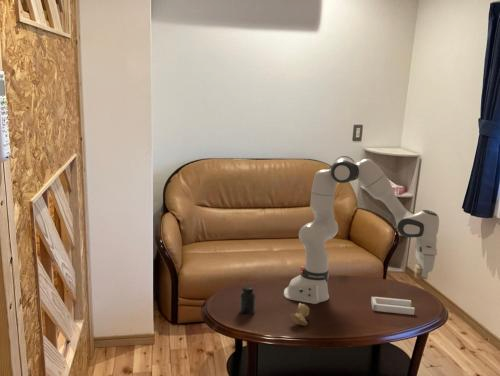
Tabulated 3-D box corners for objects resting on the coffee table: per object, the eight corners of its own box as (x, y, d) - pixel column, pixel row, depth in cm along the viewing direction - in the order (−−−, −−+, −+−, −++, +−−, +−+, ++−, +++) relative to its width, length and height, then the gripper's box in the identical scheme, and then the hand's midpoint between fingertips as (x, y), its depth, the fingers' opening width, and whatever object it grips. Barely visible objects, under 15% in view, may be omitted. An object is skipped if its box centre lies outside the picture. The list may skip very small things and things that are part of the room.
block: (415, 278, 212) (417, 268, 211) (413, 274, 217) (415, 264, 216) (427, 279, 211) (428, 269, 210) (424, 275, 216) (426, 265, 215)
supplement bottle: (247, 307, 214) (248, 283, 212) (257, 312, 209) (258, 287, 207) (236, 311, 209) (237, 286, 207) (246, 316, 204) (247, 291, 202)
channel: (373, 310, 216) (373, 304, 215) (371, 302, 225) (371, 296, 224) (413, 314, 213) (414, 308, 212) (410, 306, 222) (410, 300, 221)
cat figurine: (290, 313, 196) (298, 295, 206) (286, 324, 200) (294, 306, 210) (308, 321, 194) (315, 303, 204) (303, 332, 198) (311, 314, 208)
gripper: (414, 237, 222) (410, 265, 224) (423, 251, 202) (419, 281, 204) (427, 239, 221) (423, 266, 223) (438, 253, 201) (433, 282, 204)
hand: (421, 273), depth 214 cm, fingers closed on block, 5 cm apart
